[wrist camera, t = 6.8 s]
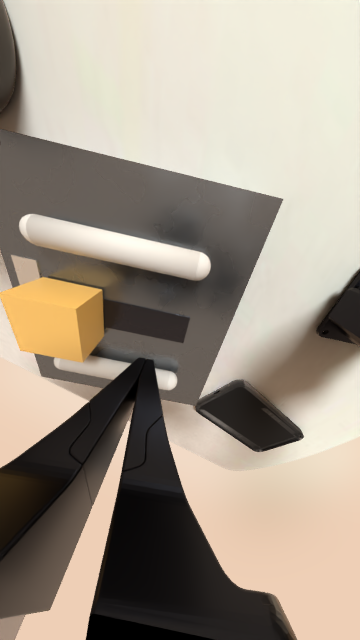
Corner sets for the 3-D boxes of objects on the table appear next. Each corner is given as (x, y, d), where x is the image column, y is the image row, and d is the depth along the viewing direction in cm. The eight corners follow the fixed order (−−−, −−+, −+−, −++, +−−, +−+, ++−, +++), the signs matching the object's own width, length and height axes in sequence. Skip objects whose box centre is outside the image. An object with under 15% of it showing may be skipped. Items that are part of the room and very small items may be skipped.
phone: (257, 453, 26) (191, 408, 22) (255, 445, 27) (191, 400, 23) (307, 437, 23) (243, 381, 18) (303, 429, 24) (241, 373, 19)
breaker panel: (262, 204, 11) (284, 198, 8) (195, 382, 20) (195, 406, 17) (16, 144, 10) (-45, 117, 8) (61, 355, 19) (40, 377, 17)
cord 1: (179, 369, 15) (178, 383, 14) (176, 380, 16) (174, 395, 14) (60, 345, 15) (47, 358, 13) (63, 358, 15) (50, 371, 14)
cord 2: (212, 253, 10) (215, 257, 9) (205, 278, 11) (207, 287, 9) (32, 211, 10) (5, 209, 8) (39, 241, 10) (15, 244, 9)
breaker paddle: (102, 289, 11) (75, 309, 9) (104, 336, 13) (82, 362, 11) (43, 277, 11) (-2, 293, 9) (54, 325, 13) (20, 350, 11)
